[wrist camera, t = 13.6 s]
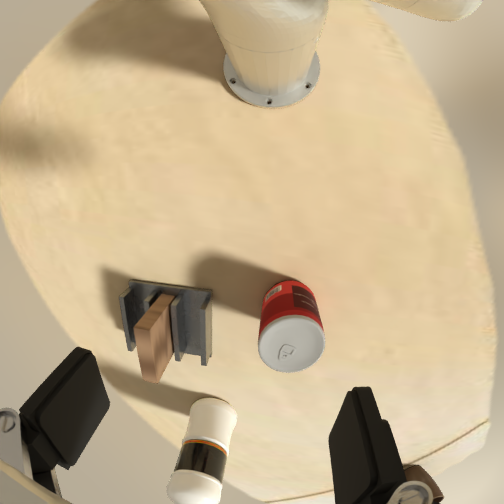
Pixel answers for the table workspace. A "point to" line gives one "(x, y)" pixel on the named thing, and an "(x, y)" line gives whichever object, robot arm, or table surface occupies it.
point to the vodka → (203, 453)
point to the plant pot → (424, 481)
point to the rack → (172, 316)
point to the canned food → (290, 328)
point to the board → (155, 339)
